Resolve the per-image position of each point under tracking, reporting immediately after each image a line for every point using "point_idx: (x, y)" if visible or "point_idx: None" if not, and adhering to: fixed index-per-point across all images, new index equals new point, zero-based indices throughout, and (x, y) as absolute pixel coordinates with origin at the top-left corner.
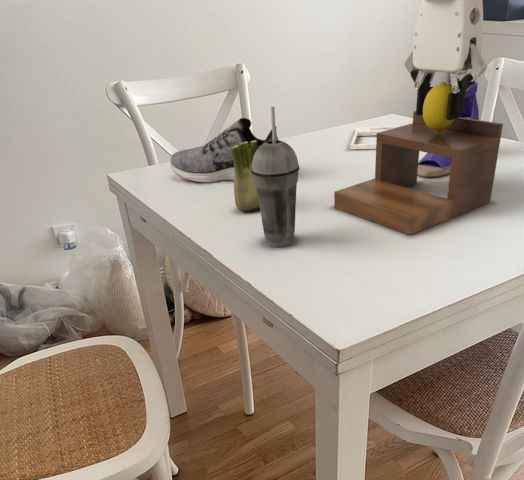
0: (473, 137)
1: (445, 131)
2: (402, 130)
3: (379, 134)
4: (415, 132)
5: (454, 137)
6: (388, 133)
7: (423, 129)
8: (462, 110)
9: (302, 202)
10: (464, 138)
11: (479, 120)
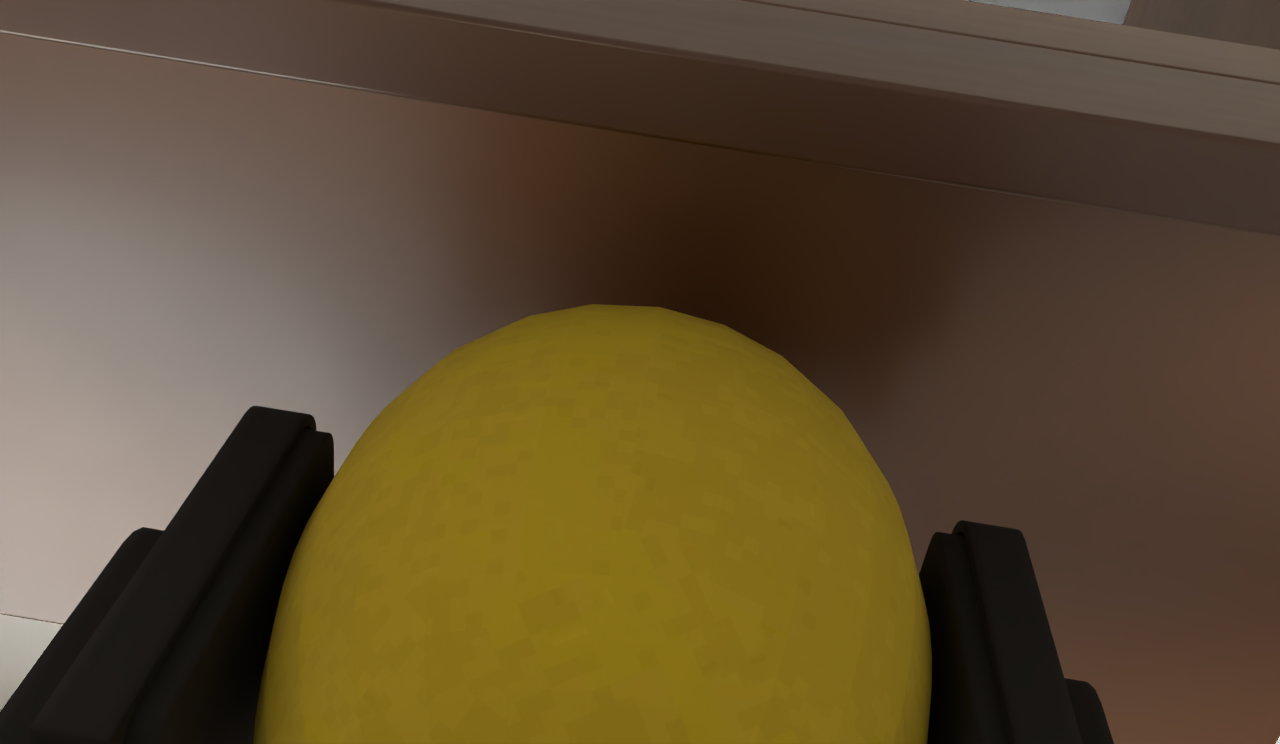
0: (1203, 347)
1: (655, 214)
2: (100, 401)
3: (18, 611)
4: (325, 426)
5: (944, 443)
6: (89, 579)
7: (294, 243)
8: (1093, 703)
9: (30, 620)
10: (1097, 439)
11: (1254, 166)
